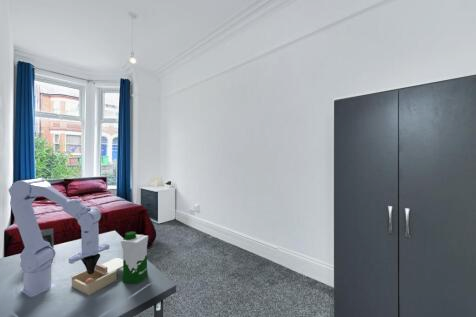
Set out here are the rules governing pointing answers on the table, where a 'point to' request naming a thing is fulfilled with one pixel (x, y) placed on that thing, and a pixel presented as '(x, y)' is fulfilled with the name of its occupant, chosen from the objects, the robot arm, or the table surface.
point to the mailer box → (97, 284)
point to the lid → (109, 266)
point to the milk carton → (134, 257)
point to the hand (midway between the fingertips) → (90, 273)
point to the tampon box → (48, 236)
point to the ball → (89, 280)
